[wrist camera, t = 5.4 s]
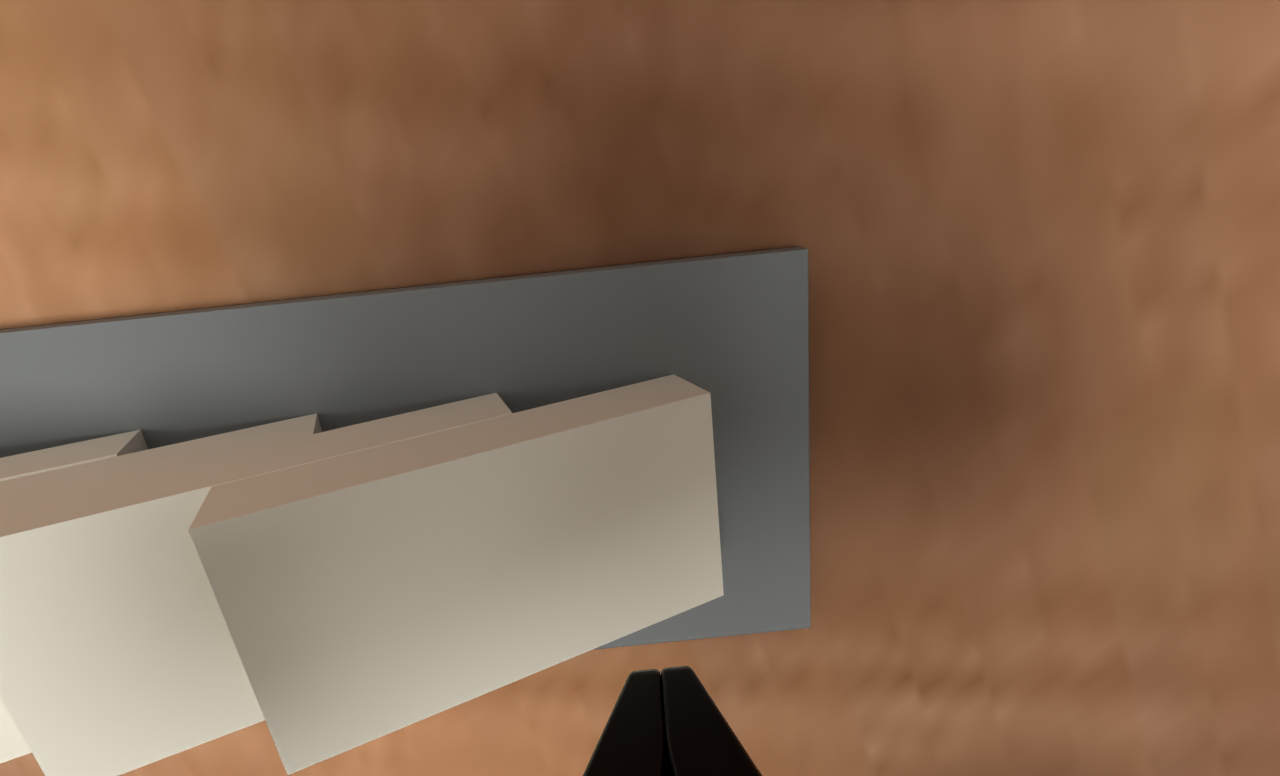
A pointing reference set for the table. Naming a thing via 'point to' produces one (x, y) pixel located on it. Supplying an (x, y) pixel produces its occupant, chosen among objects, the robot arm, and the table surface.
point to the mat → (476, 383)
